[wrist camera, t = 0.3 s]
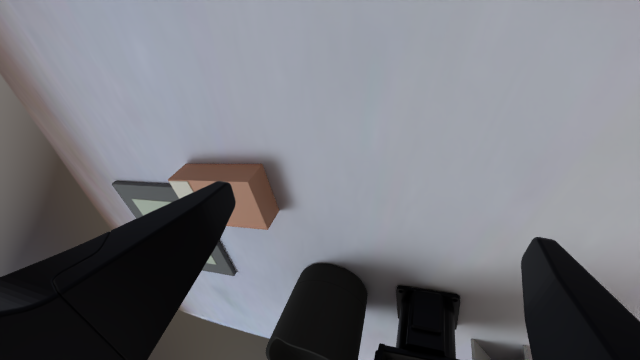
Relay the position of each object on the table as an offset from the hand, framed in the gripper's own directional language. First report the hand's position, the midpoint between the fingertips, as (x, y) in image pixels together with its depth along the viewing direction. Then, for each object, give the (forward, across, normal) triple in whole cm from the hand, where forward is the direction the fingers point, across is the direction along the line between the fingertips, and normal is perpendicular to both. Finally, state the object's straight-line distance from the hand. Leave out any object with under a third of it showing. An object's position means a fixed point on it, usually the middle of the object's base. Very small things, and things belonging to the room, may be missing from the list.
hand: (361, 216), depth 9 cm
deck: (+15, +16, +13) cm, 26 cm away
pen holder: (+15, +5, +27) cm, 31 cm away
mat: (+14, +27, +23) cm, 38 cm away
